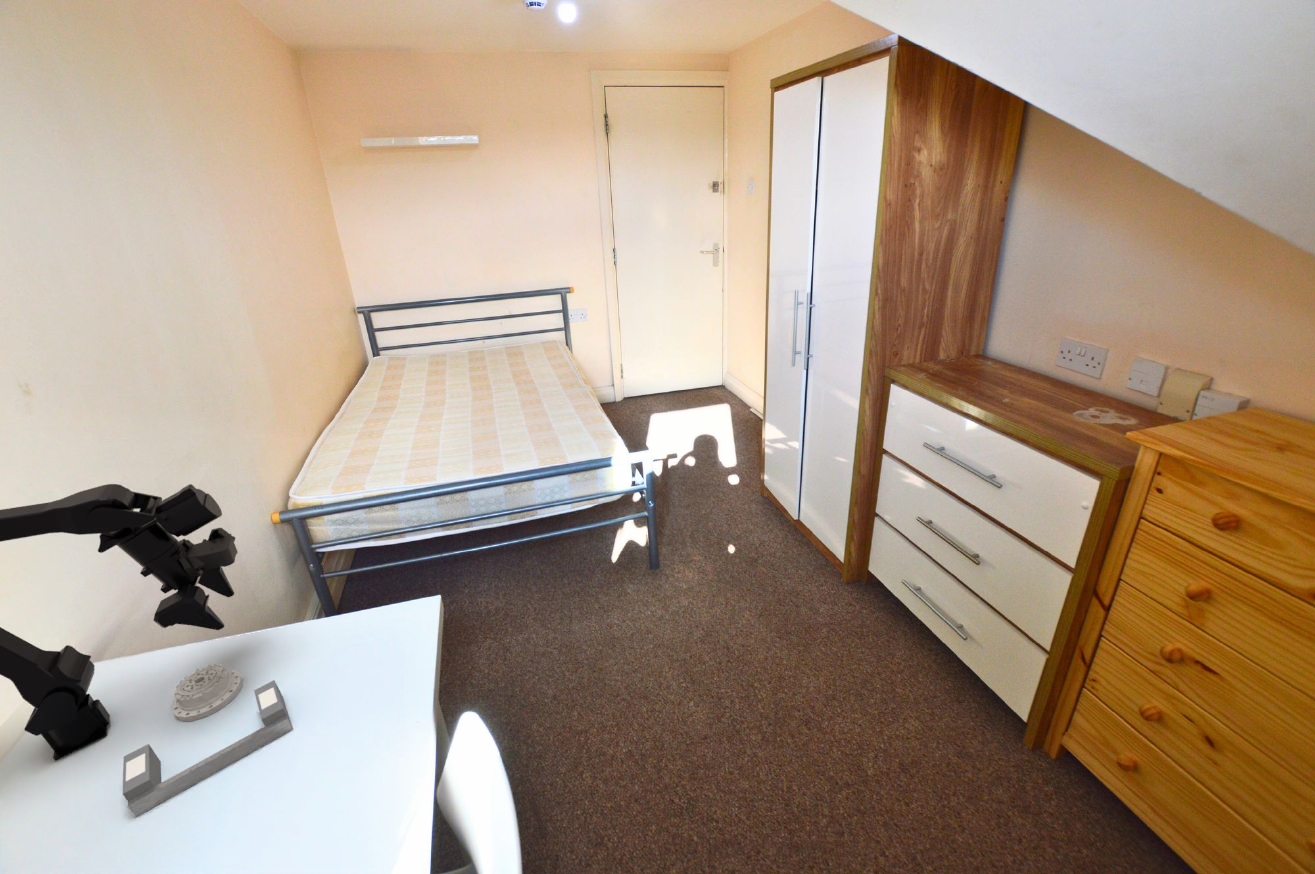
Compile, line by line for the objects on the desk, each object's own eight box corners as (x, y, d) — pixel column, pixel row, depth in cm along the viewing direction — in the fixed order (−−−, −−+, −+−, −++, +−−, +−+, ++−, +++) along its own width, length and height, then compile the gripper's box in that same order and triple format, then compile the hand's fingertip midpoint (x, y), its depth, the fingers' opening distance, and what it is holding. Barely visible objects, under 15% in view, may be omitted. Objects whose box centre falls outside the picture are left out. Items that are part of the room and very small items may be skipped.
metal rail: (135, 817, 81) (127, 805, 80) (135, 811, 82) (127, 800, 81) (292, 729, 92) (287, 718, 91) (291, 725, 93) (286, 714, 92)
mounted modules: (135, 811, 82) (121, 793, 80) (136, 773, 87) (123, 755, 86) (291, 725, 93) (282, 707, 91) (282, 696, 99) (273, 678, 97)
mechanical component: (160, 724, 96) (216, 721, 95) (148, 705, 94) (205, 702, 94) (204, 676, 105) (256, 674, 105) (194, 659, 103) (246, 656, 103)
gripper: (194, 555, 87) (265, 619, 95) (219, 499, 102) (278, 557, 110) (118, 596, 84) (196, 657, 92) (155, 531, 100) (220, 589, 108)
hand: (227, 611), depth 101 cm, fingers open, 9 cm apart
